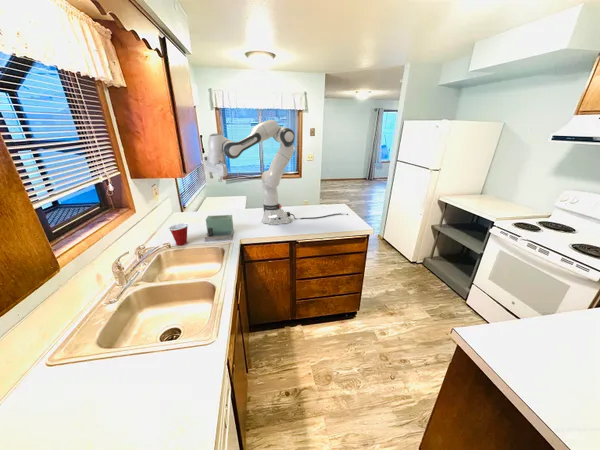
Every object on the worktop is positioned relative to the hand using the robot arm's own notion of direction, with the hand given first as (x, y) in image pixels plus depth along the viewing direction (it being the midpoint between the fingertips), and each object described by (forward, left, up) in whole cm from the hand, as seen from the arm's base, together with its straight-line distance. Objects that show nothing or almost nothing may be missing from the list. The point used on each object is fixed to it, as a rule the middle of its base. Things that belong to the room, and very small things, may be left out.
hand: (215, 180), depth 162 cm
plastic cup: (+20, +25, -36) cm, 48 cm away
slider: (+3, +19, -32) cm, 38 cm away
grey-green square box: (-2, +15, -35) cm, 38 cm away
